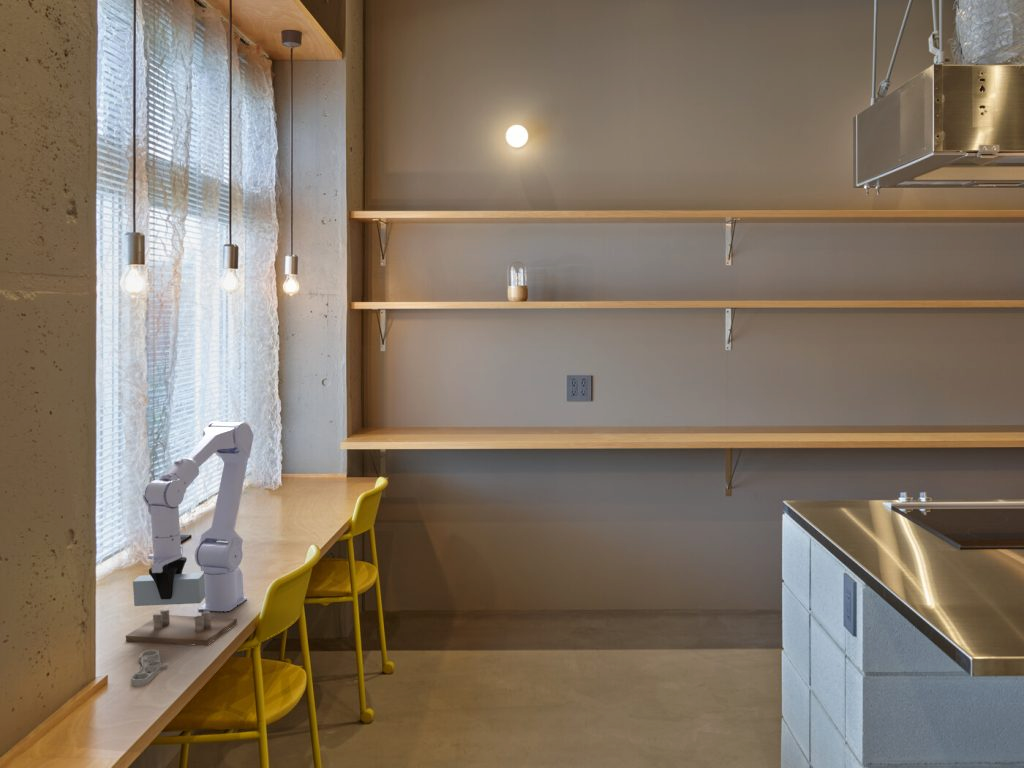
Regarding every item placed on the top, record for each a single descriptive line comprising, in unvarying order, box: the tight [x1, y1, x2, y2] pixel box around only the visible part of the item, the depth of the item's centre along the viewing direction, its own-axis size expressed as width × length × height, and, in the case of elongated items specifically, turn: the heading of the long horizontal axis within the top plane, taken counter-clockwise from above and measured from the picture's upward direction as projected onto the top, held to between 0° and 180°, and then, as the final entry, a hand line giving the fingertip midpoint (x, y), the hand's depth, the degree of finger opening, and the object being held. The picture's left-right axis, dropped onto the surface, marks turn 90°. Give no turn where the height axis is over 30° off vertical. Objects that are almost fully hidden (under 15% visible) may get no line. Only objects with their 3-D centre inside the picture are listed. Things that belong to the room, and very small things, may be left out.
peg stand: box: [125, 608, 238, 646], centre depth 201 cm, size 13×19×4 cm
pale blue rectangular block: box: [132, 572, 205, 607], centre depth 200 cm, size 14×4×6 cm, turn 94°
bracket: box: [130, 649, 169, 687], centre depth 181 cm, size 8×2×15 cm
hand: (169, 595), depth 200 cm, fingers closed on pale blue rectangular block, 4 cm apart
